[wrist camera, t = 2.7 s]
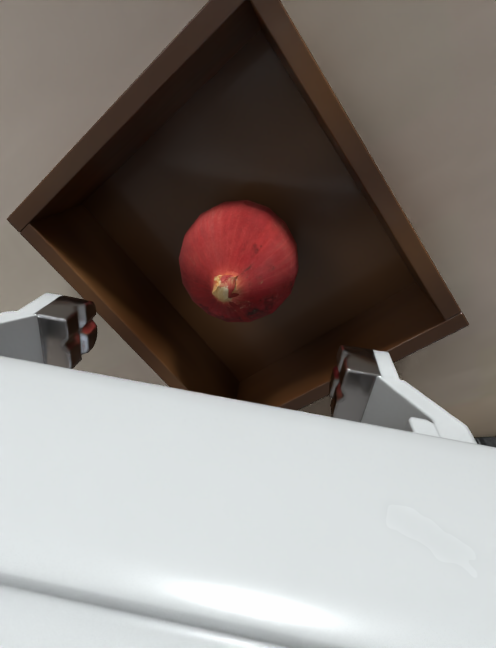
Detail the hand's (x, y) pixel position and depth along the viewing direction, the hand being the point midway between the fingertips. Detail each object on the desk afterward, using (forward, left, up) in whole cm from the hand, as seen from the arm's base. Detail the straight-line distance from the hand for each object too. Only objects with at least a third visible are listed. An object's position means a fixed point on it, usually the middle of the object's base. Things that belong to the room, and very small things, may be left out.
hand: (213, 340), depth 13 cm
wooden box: (0, 0, -11) cm, 11 cm away
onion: (0, 0, -11) cm, 11 cm away
